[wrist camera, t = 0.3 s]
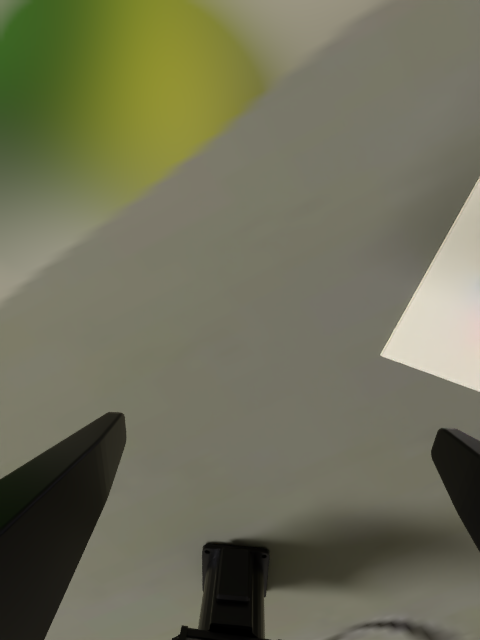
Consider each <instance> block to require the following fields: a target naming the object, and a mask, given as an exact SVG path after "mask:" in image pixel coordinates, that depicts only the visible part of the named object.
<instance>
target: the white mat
mask: <svg viewBox="0 0 480 640" xmlns="http://www.w3.org/2000/svg"><path fill="white" fill-rule="evenodd" d="M380 355H381V356H383V357H385V358H388V359H391V360H394V361H396V362H399V363H402V364H405V365H408V366H410V367H413V368H416V369H419V370H421V371H424V372H427V373H430V374H432V375H435V376H438V377H441V378H443V379H446V380H449V381H452V382H454V383H457V384H460V385H463V386H465V387H468V388H471V389H474V390H476V391H479V392H480V177H479V179H478V181H477V182H476V184H475V186H474V188H473V189H472V191H471V193H470V195H469V197H468V198H467V200H466V202H465V204H464V206H463V207H462V209H461V211H460V213H459V215H458V216H457V218H456V220H455V222H454V224H453V225H452V227H451V229H450V231H449V232H448V234H447V236H446V238H445V240H444V241H443V243H442V245H441V247H440V249H439V250H438V252H437V254H436V256H435V258H434V259H433V261H432V263H431V265H430V266H429V268H428V270H427V272H426V274H425V275H424V277H423V279H422V281H421V283H420V284H419V286H418V288H417V290H416V292H415V293H414V295H413V297H412V299H411V301H410V302H409V304H408V306H407V308H406V309H405V311H404V313H403V315H402V317H401V318H400V320H399V322H398V324H397V326H396V327H395V329H394V331H393V333H392V335H391V336H390V338H389V340H388V342H387V344H386V345H385V347H384V349H383V351H382V352H381V354H380Z"/></svg>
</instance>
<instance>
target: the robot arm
mask: <svg viewBox="0 0 480 640" xmlns="http://www.w3.org/2000/svg"><path fill="white" fill-rule="evenodd" d="M125 444H126V427H125V417H124V414H123V413H119V412H108V413H106V414H105V415H103V416H101V417H100V418H98V419H96V420H95V421H93V422H92V423H90V424H88V425H87V426H85V427H84V428H82V429H80V430H79V431H77V432H76V433H74V434H72V435H71V436H69V437H68V438H66V439H64V440H63V441H61V442H60V443H58V444H56V445H55V446H53V447H51V448H50V449H48V450H47V451H45V452H43V453H42V454H40V455H39V456H37V457H35V458H34V459H32V460H31V461H29V462H27V463H26V464H24V465H23V466H21V467H19V468H18V469H16V470H14V471H13V472H11V473H10V474H8V475H6V476H5V477H3V478H2V479H0V640H44V639H45V637H46V634H47V632H48V630H49V628H50V626H51V623H52V621H53V619H54V617H55V614H56V612H57V610H58V608H59V606H60V603H61V601H62V599H63V597H64V594H65V592H66V590H67V588H68V586H69V583H70V581H71V579H72V577H73V574H74V572H75V570H76V568H77V565H78V563H79V561H80V559H81V557H82V554H83V552H84V550H85V548H86V545H87V543H88V541H89V539H90V537H91V534H92V532H93V530H94V528H95V525H96V523H97V521H98V519H99V517H100V514H101V512H102V510H103V508H104V505H105V503H106V501H107V498H108V495H109V492H110V490H111V487H112V484H113V481H114V478H115V475H116V471H117V468H118V465H119V462H120V459H121V456H122V453H123V450H124V447H125ZM431 456H432V460H433V462H434V464H435V466H436V468H437V471H438V473H439V475H440V477H441V479H442V481H443V483H444V485H445V488H446V490H447V492H448V494H449V496H450V498H451V500H452V503H453V505H454V507H455V509H456V511H457V513H458V515H459V516H460V518H461V520H462V522H463V524H464V525H465V527H466V529H467V531H468V532H469V534H470V536H471V538H472V539H473V541H474V543H475V545H476V546H477V548H478V550H479V551H480V441H478V440H477V439H475V438H473V437H471V436H469V435H467V434H465V433H463V432H462V431H460V430H458V429H454V428H441V429H439V430H438V432H437V435H436V438H435V441H434V444H433V447H432V450H431ZM268 566H269V551H268V550H267V549H265V548H252V547H239V546H226V545H213V544H206V545H204V546H203V550H202V575H203V599H202V606H201V613H200V619H199V626H198V629H193V628H188V626H183V625H182V627H181V632H180V635H178V636H176V637H174V638H172V640H269V639H265V626H264V597H266V589H267V577H268ZM278 640H280V639H278Z"/></svg>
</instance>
